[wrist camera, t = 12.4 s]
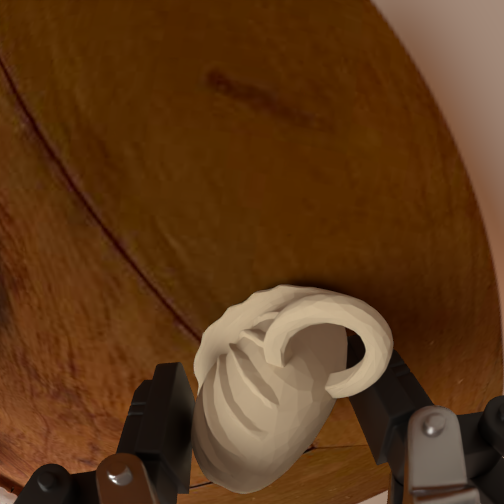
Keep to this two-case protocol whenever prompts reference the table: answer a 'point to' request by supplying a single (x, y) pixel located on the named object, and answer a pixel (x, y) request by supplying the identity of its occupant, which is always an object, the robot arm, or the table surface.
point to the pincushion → (7, 496)
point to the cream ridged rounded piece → (278, 379)
